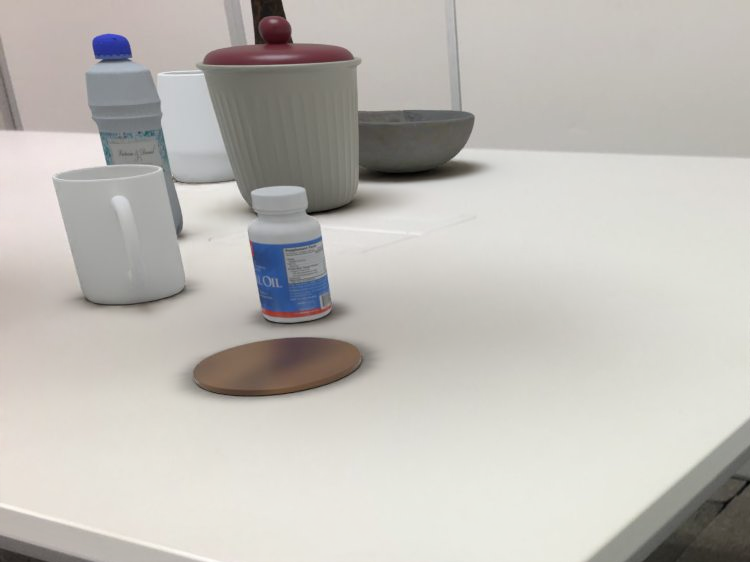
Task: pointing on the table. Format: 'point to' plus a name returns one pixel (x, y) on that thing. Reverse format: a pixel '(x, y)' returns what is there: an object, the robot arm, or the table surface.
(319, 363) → the coaster
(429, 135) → the bowl
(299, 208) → the pill bottle
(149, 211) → the cup
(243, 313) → the table surface
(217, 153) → the cup
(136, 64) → the bottle
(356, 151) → the canister
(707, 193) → the table surface
